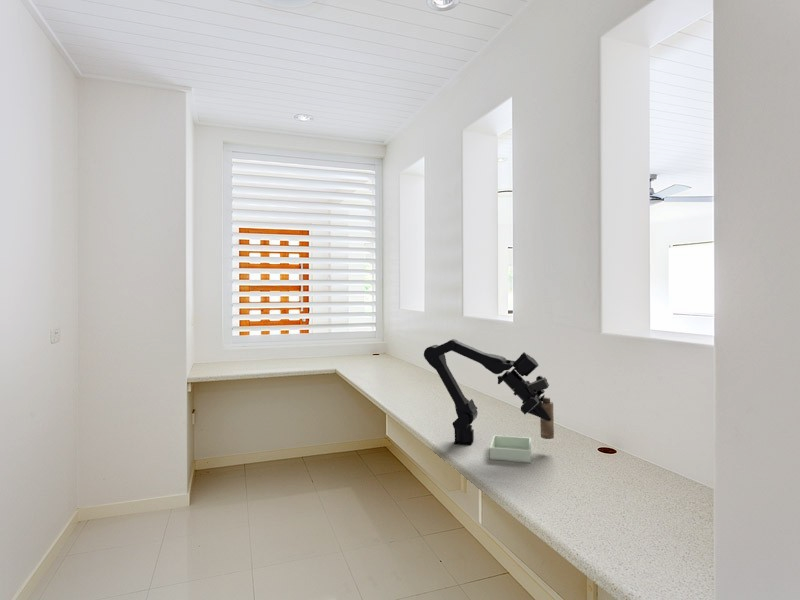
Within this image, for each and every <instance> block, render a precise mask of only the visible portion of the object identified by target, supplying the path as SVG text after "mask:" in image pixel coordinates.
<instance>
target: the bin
mask: <svg viewBox="0 0 800 600" xmlns="http://www.w3.org/2000/svg"><path fill="white" fill-rule="evenodd" d="M489 460H491V461H503V462H504V461H505V462H515V463H516V462H517V463H518V462H519V463H529V464H531V463H532V437H526V436H525V437H524V436H511V435H510V436H509V435H508V436H507V435H496V434H495V435H492V438H491V443H490V446H489Z"/></svg>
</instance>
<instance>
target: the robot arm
mask: <svg viewBox="0 0 800 600" xmlns="http://www.w3.org/2000/svg"><path fill="white" fill-rule="evenodd" d="M449 352H454V353H456V354H458V355H460V356H463V357H464V358H467V359H469V360H471V361H474V362H476V363H479V364H480V365H482V366H483V367H484V368H485V369H487V370H488V371H489V372H491V373H492V374H494V375H498V376H497V385H501V383H502V382H504V383H505V385H507V387H508V388H509V389H510V390H511V391H513V395H514V396H517V397H518V398H519V399H520V400H521V401H522V402H521V403H522V405H521V406H520V411H521V413H523V414H524V415H527V414H530V415H533V416H535V417H537V418H542V419H545V420H547V421H550V420H551V418H550V417H549V415H548V414H547V413H546V411H545V410H544V409H543V407H542V403H541V402H542V401H543V398H545V397H546V395H545V390H547V389H548V388H549V386H550V384H549V382H548V379H547V378H546V377H545V376H544V377H543V376H542V375H537V376H536V378H535V379H536V380H534V381H532V382H530V380H525V379H524V378H523V377H524V376H525V377H529V375H530V374H531V373H533V371H535V370H536V368H538V367H540V366H539V363H538V362H537V360H535V358H534V357H533V356H531V355H529V354H527V353H526V352H522V353H521V354H520V356H519V357H518V358H517V359H516V360H509V359H507V358H506V357H504V356H502V355H498V354H493V353H487V352H485V351H481V350H479V349H478V348H475V347H473V346H470V345H468V344H466V343H463V342H462V341H458V340H457V339H454V338H453V339H450V340H448V341H447V342H444V343H442V344H440V345H438V344H433V345H430V346H428V347H426V348H425V349H424V351H423V358H424V359H425V361H426V362H427V363H428V364H429V365H430V366H431V367H432V368H433V369H434V370H435V371H436V373H437V374H438V377H440V380H441V381H442V383H443V384H444V386H445V389H446V391H447V393H449V396H450V397H451V400H452V401H453V403H454V408H455V413H456V416H457V418H456V419H455V420H454V421H453V422H452V427H453V430H454V441H453V444H454V445H461V446H462V445H463V446H472V444H473V442H474V441H475V436H474V435H475V430H474V429H473V425H472V424H473V422H474V421H475V420H476V419H477V418H478V414H479V413H478V407H477V406H476V405H475V401H474V399H473V398H472V399H470V400H469V399H468V398H467V397H466V396H465V395H464V393H463V392H462V389H461V387H460V386H459V384H458V382H457V380H456V379H455V377H454V375H453V373H452V371H451V370H450V368H449V366H448V364H447V359H446V355H445V354H447V353H449ZM511 369H512V370H511ZM510 370H511V371H510ZM502 373H503V374H502ZM500 374H501V375H500ZM541 395H542V396H541Z"/></svg>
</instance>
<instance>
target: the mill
mask: <svg viewBox="0 0 800 600" xmlns="http://www.w3.org/2000/svg"><path fill="white" fill-rule="evenodd" d="M541 403H542V407H543V409H544V410H545V411H546V413H547V414H548V415H549V417H550V418H551V420H550V421H547V420H545V419H542V418H540V417H539V418H540V419H539V421H540V422H539V423H540V424H539V425H540V427H539V428H540V437H541V438H542V439H545V440H553V439H554V438H555V431H554V430H555V428H554V427H555V426H554V422H555V421H554V402H553V401H551V397H546V396H544V398H543V401H542V402H541Z"/></svg>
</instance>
